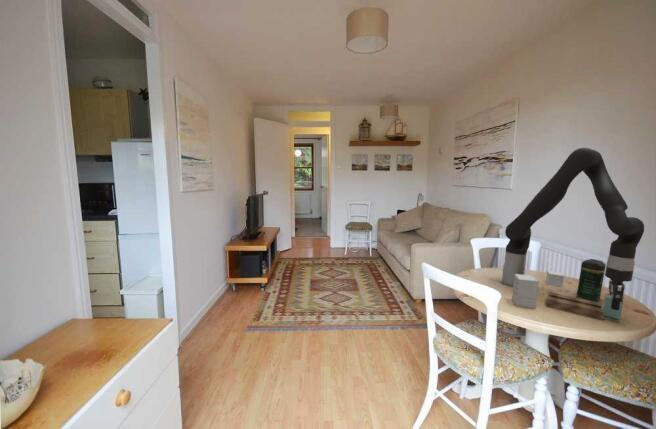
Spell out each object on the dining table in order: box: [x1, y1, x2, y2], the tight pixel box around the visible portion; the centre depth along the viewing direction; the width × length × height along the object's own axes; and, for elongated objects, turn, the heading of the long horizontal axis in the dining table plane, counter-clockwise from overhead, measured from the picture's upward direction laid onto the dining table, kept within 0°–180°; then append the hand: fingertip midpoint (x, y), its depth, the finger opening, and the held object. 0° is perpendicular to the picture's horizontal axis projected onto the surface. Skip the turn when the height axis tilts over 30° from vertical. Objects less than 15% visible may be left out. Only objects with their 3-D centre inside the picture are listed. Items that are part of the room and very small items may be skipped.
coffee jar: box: [576, 258, 607, 302], centre depth 132 cm, size 10×8×19 cm
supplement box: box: [511, 274, 539, 309], centre depth 125 cm, size 7×7×13 cm
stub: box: [602, 293, 625, 320], centre depth 114 cm, size 5×2×9 cm, turn 50°
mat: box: [603, 315, 620, 323], centre depth 115 cm, size 4×6×1 cm
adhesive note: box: [545, 270, 565, 288], centre depth 150 cm, size 6×6×6 cm
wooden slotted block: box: [545, 291, 604, 321], centre depth 122 cm, size 18×11×4 cm, turn 50°
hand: (613, 305), depth 114 cm, fingers open, 8 cm apart
